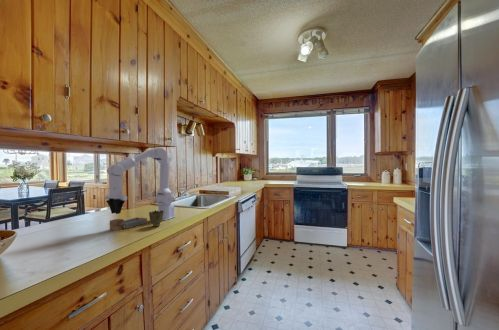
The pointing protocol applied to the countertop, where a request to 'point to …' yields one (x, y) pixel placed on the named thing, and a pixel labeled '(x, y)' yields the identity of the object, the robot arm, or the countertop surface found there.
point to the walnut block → (116, 224)
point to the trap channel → (134, 222)
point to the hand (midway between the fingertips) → (116, 213)
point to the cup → (156, 217)
